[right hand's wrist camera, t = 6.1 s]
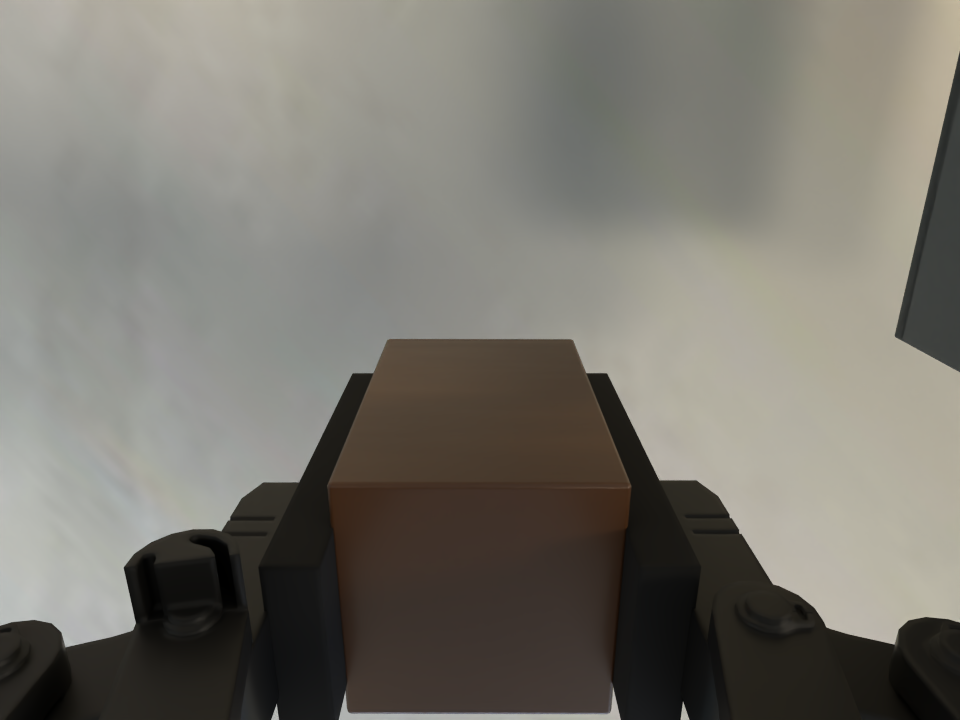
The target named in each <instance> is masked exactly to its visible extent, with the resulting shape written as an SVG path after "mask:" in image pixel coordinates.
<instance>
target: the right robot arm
mask: <svg viewBox="0 0 960 720" xmlns="http://www.w3.org/2000/svg"><path fill="white" fill-rule="evenodd" d="M373 374H374V373H353V374H352V376H351V378H350V380H349V382H348V384H347V386H346V388H345V390H344V392H343V394H342V396H341V398H340V400H339V402H338V404H337V406H336V408H335V411H334V413H333V415H332V417H331V419H330V421H329V423H328V425H327V427H326V429H325V431H324V433H323V435H322V437H321V439H320V441H319V443H318V445H317V447H316V449H315V451H314V453H313V456H312V458H311V460H310V462H309V464H308V466H307V468H306V470H305V472H304V474H303V476H302V478H301V480H300V482H299V483H262V484H261V485H260V486H258V487H257V488H255V489H254V490H253V491H251V492H250V493H249V494H247V495H246V496H245V497H243V498H242V499H241V501H240V502H239V504H238V506H237V507H236V509H235V510H234V512H233V514H232V515H231V517H230V521H228V522H227V523H226V525H225V527H224V528H223V530H222V531H217V530H214V529H193V530H188V531H183V532H179V533H174V534H170V535H168V536H166V537H163V538H161V539H158V540H156V541H154V542H151V543H150V544H148V545H147V546H145V547H144V548H142V549H141V550H140V551H138V552H137V553H135V554H134V555H133V556H132V558H131V559H130V560H129V561H128V563H127V564H126V565H125V567H124V571H125V575H126V580H127V584H128V589H129V593H130V598H131V603H132V607H133V612H134V616H135V621H136V625H135V627H134V630H133V631H131V632H127V633H124V634H121V635H117V636H114V637H110V638H106V639H101V640H97V641H92V642H88V643H83V644H79V645H75V646H70V647H66V648H65V644H64V641H63V637H62V633H61V632H60V631H59V630H58V629H57V628H56V627H55V626H54V625H53V624H52V623H47V622H42V621H37V620H30V621H20V622H11V623H8V624H5V625H1V626H0V720H271V718H272V716H273V713H274V710H275V707H276V704H277V707H278V715H279V720H339V716H340V711H341V707H342V703H343V699H344V694H345V690H346V686H347V678H346V667H345V655H344V644H343V633H342V622H341V611H340V600H339V588H338V577H337V566H336V555H335V544H334V532H333V528H331V523H330V512H329V500H328V489H327V485H328V483H329V480H330V478H331V475H332V473H333V471H334V468H335V466H336V463H337V461H338V458H339V456H340V454H341V451H342V449H343V446H344V444H345V442H346V439H347V437H348V434H349V432H350V429H351V427H352V425H353V422H354V420H355V417H356V415H357V412H358V410H359V408H360V405H361V403H362V400H363V398H364V395H365V393H366V391H367V388H368V386H369V383H370V381H371V378H372V376H373ZM586 374H587V377H588V379H589V382H590V384H591V387H592V389H593V392H594V394H595V397H596V399H597V402H598V404H599V407H600V409H601V412H602V414H603V417H604V419H605V422H606V424H607V427H608V429H609V432H610V434H611V437H612V439H613V442H614V444H615V447H616V449H617V452H618V454H619V457H620V459H621V462H622V464H623V467H624V469H625V472H626V474H627V477H628V479H629V482H630V484H631V498H630V509H629V519H628V527H627V528H626V539H625V550H624V561H623V572H622V584H621V595H620V606H619V617H618V628H617V639H616V651H615V662H614V673H613V688H614V692H615V696H616V700H617V705H618V709H619V713H620V718H621V720H680V719H681V711H682V704H683V702H684V705H685V708H686V711H687V714H688V716H689V719H690V720H960V623H959V622H955V621H952V620H949V619H939V618H929V617H924V618H919V619H914V620H909V621H908V622H907V623H905V624H904V625H903V626H902V627H901V628H900V629H899V631H898V635H897V638H896V642H895V645H893V644H889V643H885V642H880V641H876V640H871V639H867V638H862V637H858V636H853V635H849V634H845V633H842V632H838V631H835V630H832V629H829V628H826V626H825V624H824V622H823V620H822V619H821V617H820V616H819V614H818V613H817V611H816V610H815V608H814V607H812V606H811V605H810V604H809V603H807V602H806V601H805V600H804V599H802V598H801V597H800V596H799V595H797V594H794V593H792V592H790V591H788V590H786V589H784V588H782V587H780V586H776V585H773V584H772V582H771V581H770V579H769V577H768V576H767V574H766V573H765V571H764V569H763V568H762V566H761V565H760V563H759V561H758V560H757V558H756V557H755V555H754V553H753V552H752V550H751V549H750V547H749V545H748V544H747V542H746V541H745V539H744V537H743V536H742V534H739V529H738V528H737V526H736V524H735V523H734V521H733V520H732V518H730V517H729V513H728V512H727V510H726V508H725V507H724V505H723V504H722V502H721V500H720V499H719V497H718V496H717V495H716V494H714V493H713V492H711V491H710V490H709V489H707V488H706V487H705V486H703V485H702V484H700V483H699V482H698V481H659V479H658V477H657V475H656V473H655V471H654V469H653V467H652V465H651V463H650V460H649V458H648V456H647V454H646V452H645V450H644V448H643V446H642V444H641V442H640V440H639V438H638V436H637V434H636V432H635V430H634V428H633V426H632V424H631V422H630V420H629V417H628V415H627V413H626V411H625V409H624V407H623V405H622V403H621V401H620V399H619V397H618V395H617V393H616V391H615V389H614V387H613V385H612V383H611V381H610V379H609V377H608V374H607V373H586Z"/></svg>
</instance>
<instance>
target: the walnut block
mask: <svg viewBox="0 0 960 720" xmlns="http://www.w3.org/2000/svg"><path fill="white" fill-rule="evenodd" d="M327 489H328V500H329V512H330V523H331V528H333V532H334V544H335V555H336V566H337V577H338V588H339V600H340V611H341V622H342V633H343V644H344V655H345V667H346V678H347V686H346V701H347V709H348V712H349V713H385V714H608V713H610V711H611V705H612V694H613V673H614V662H615V651H616V639H617V628H618V617H619V606H620V595H621V584H622V572H623V561H624V550H625V539H626V528H627V527H628V519H629V509H630V498H631V484H630V482H629V479H628V477H627V474H626V472H625V469H624V467H623V464H622V462H621V459H620V457H619V454H618V452H617V449H616V447H615V444H614V442H613V439H612V437H611V434H610V432H609V429H608V427H607V424H606V422H605V419H604V417H603V414H602V412H601V409H600V407H599V404H598V402H597V399H596V397H595V394H594V392H593V389H592V387H591V384H590V382H589V379H588V377H587V374H586V372H585V369H584V367H583V364H582V362H581V359H580V357H579V354H578V352H577V349H576V347H575V344H574V342H573V340H571V339H389V340H387V342H386V345H385V347H384V349H383V352H382V354H381V357H380V359H379V362H378V364H377V366H376V369H375V371H374V374H373V376H372V378H371V381H370V383H369V386H368V388H367V391H366V393H365V395H364V398H363V400H362V403H361V405H360V408H359V410H358V412H357V415H356V417H355V420H354V422H353V425H352V427H351V429H350V432H349V434H348V437H347V439H346V442H345V444H344V446H343V449H342V451H341V454H340V456H339V458H338V461H337V463H336V466H335V468H334V471H333V473H332V475H331V478H330V480H329V483H328V485H327Z"/></svg>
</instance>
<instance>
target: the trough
mask: <svg viewBox="0 0 960 720" xmlns="http://www.w3.org/2000/svg"><path fill="white" fill-rule="evenodd" d="M895 337H896V338H898V339H900V340H902V341H904V342H905V343H907V344H909V345H911V346H913V347H915V348H917V349H918V350H920V351H922V352H924V353H926V354H928V355H929V356H931V357H933V358H935V359H937V360H939V361H940V362H942V363H944V364H946V365H948V366H950V367H951V368H953V369H955V370H957V371H959V372H960V53H959V57H958V61H957V66H956V70H955V74H954V79H953V83H952V88H951V92H950V96H949V101H948V105H947V109H946V114H945V118H944V123H943V127H942V131H941V136H940V140H939V144H938V149H937V153H936V158H935V162H934V166H933V171H932V175H931V179H930V184H929V188H928V193H927V197H926V201H925V206H924V210H923V214H922V219H921V223H920V228H919V232H918V236H917V241H916V245H915V249H914V254H913V258H912V263H911V267H910V271H909V276H908V280H907V284H906V289H905V293H904V298H903V302H902V306H901V311H900V315H899V319H898V324H897V328H896V333H895Z"/></svg>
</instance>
